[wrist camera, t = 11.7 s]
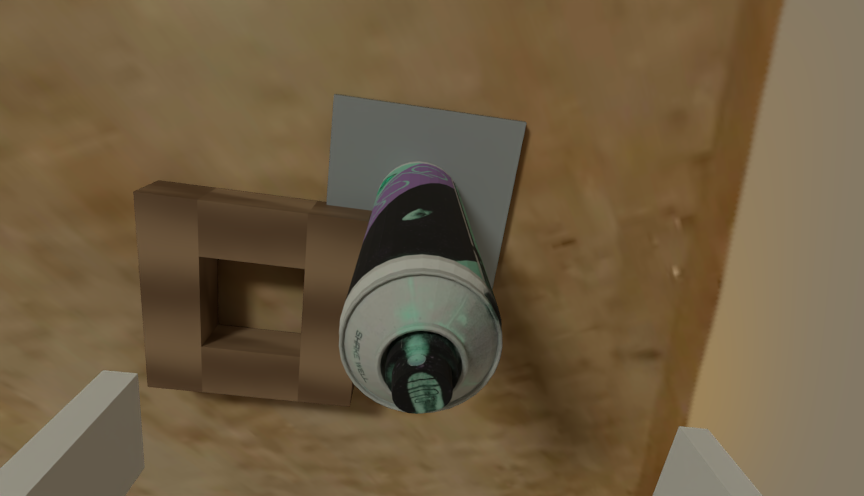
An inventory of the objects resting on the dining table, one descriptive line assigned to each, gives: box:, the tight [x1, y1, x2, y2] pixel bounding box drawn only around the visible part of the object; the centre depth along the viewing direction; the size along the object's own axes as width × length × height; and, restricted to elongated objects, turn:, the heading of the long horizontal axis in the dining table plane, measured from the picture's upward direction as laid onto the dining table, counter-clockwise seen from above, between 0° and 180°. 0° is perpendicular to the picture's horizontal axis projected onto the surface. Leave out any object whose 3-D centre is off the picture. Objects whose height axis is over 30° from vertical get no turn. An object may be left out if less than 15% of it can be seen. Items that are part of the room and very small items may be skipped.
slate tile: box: [326, 94, 526, 288], centre depth 32 cm, size 12×12×1 cm
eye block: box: [133, 181, 372, 407], centre depth 33 cm, size 14×14×3 cm
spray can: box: [339, 161, 502, 414], centre depth 23 cm, size 6×6×20 cm
